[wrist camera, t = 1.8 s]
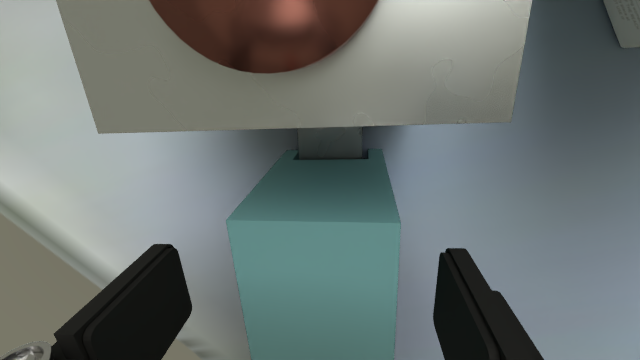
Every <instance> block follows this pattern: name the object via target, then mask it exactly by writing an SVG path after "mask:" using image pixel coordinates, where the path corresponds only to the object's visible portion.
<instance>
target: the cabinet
mask: <svg viewBox="0 0 640 360" xmlns="http://www.w3.org/2000/svg"><path fill="white" fill-rule="evenodd" d="M56 2H57V5H58V8H59V11H60V14H61V17H62V21H63V24H64V27H65V30H66V33H67V36H68V39H69V43H70V46H71V49H72V52H73V55H74V58H75V61H76V65H77V68H78V71H79V74H80V77H81V80H82V84H83V87H84V90H85V93H86V96H87V99H88V102H89V106H90V109H91V112H92V115H93V118H94V121H95V124H96V128H97V131H98V134H100V133H137V132H173V131H209V130H245V129H281V128H317V127H353V126H390V125H426V124H462V123H498V122H511V119H512V114H513V108H514V102H515V96H516V91H517V85H518V79H519V73H520V68H521V62H522V56H523V50H524V45H525V39H526V33H527V27H528V22H529V16H530V10H531V5H532V0H56Z"/></svg>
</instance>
